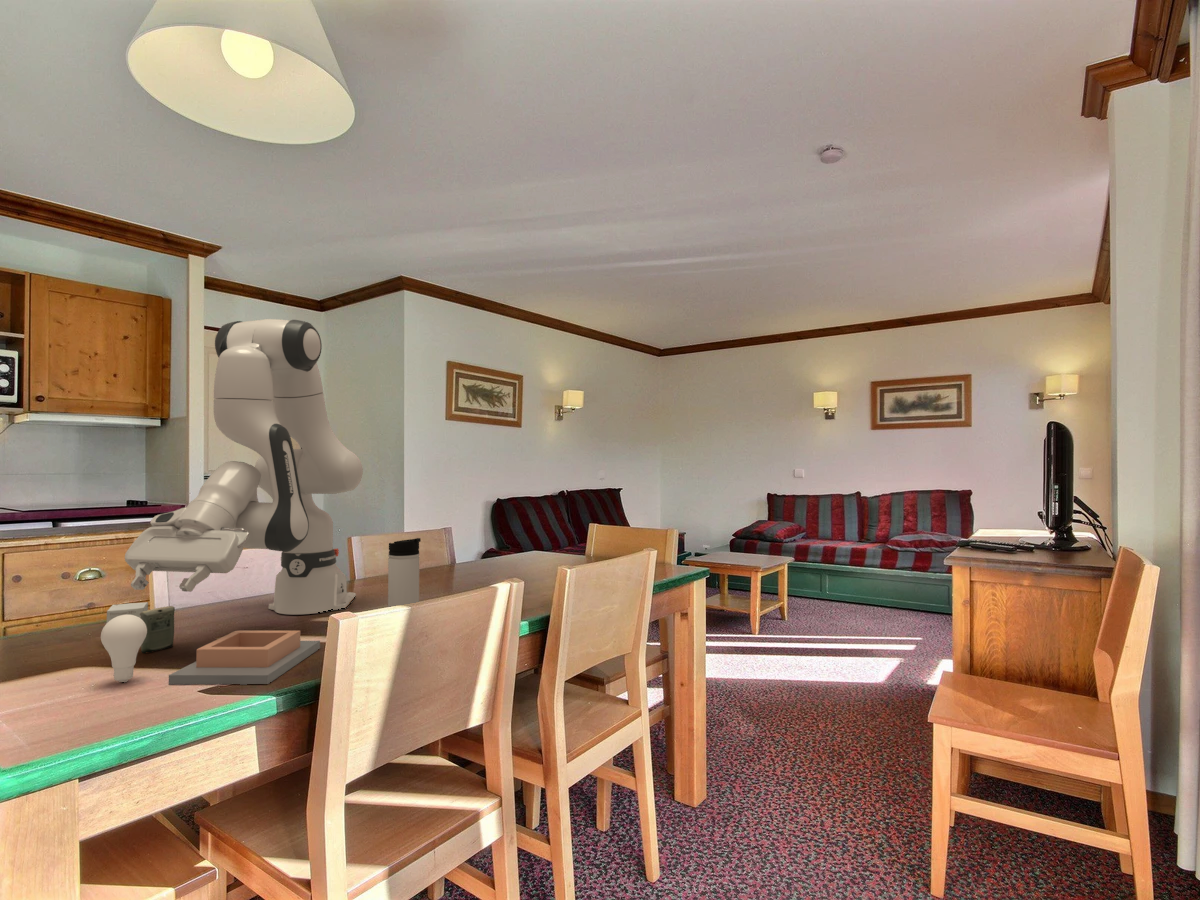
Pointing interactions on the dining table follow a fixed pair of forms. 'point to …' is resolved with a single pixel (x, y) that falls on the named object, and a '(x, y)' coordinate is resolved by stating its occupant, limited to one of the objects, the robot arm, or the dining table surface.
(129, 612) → the product box
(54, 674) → the dining table surface
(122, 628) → the lightbulb
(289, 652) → the board
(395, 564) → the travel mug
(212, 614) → the dining table surface
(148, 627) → the labelled grey plug block
